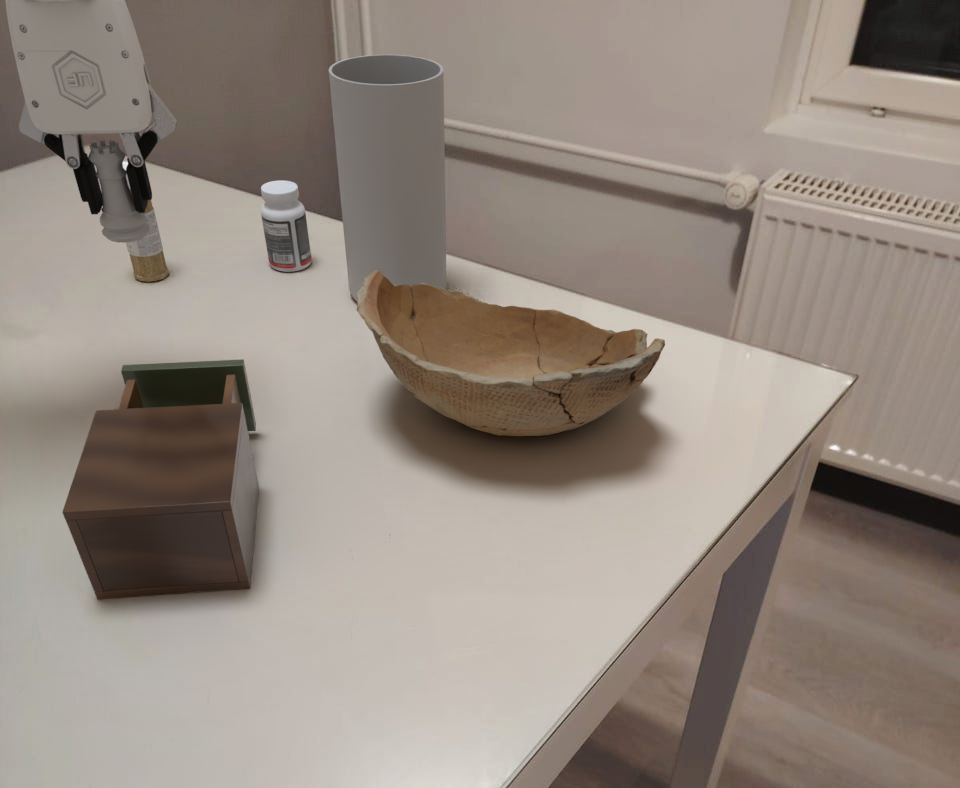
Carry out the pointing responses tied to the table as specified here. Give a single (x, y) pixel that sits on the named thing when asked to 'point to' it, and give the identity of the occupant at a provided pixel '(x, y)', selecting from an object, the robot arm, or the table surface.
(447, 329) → the ceramic bowl
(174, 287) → the table surface
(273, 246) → the pill bottle
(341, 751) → the table surface
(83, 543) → the cabinet
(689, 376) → the table surface
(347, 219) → the cylinder vase
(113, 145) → the rook chess piece
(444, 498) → the table surface
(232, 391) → the drawer
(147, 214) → the sprinkles bottle
